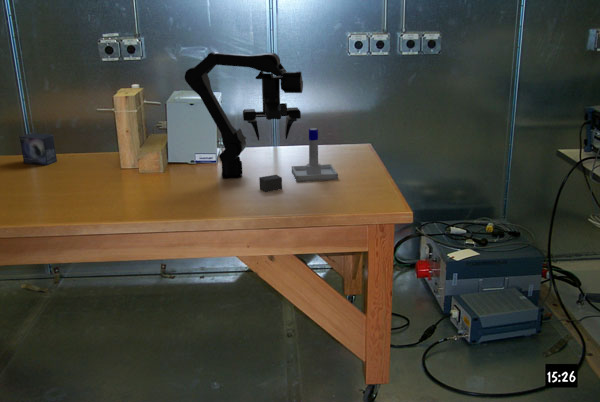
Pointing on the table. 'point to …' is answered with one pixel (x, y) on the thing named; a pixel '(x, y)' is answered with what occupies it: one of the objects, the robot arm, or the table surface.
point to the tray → (326, 174)
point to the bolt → (313, 153)
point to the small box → (38, 149)
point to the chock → (270, 183)
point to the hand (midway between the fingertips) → (272, 139)
